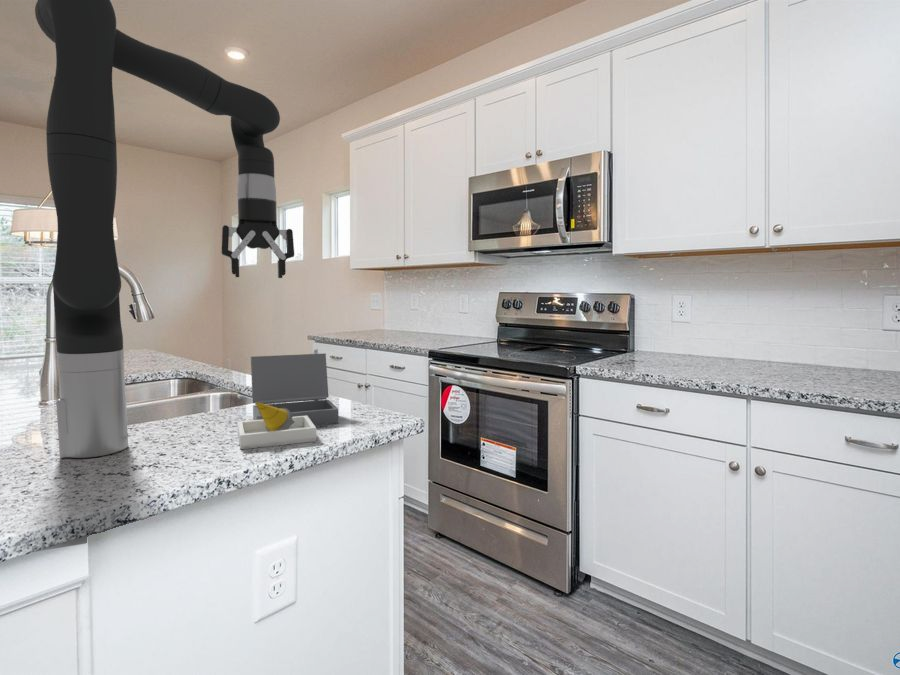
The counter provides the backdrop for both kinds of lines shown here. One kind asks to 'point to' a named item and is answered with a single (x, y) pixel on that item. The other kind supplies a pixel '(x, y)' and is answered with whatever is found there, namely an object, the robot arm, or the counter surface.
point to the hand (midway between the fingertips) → (259, 277)
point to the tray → (275, 433)
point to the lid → (289, 378)
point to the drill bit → (275, 417)
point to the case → (307, 411)
